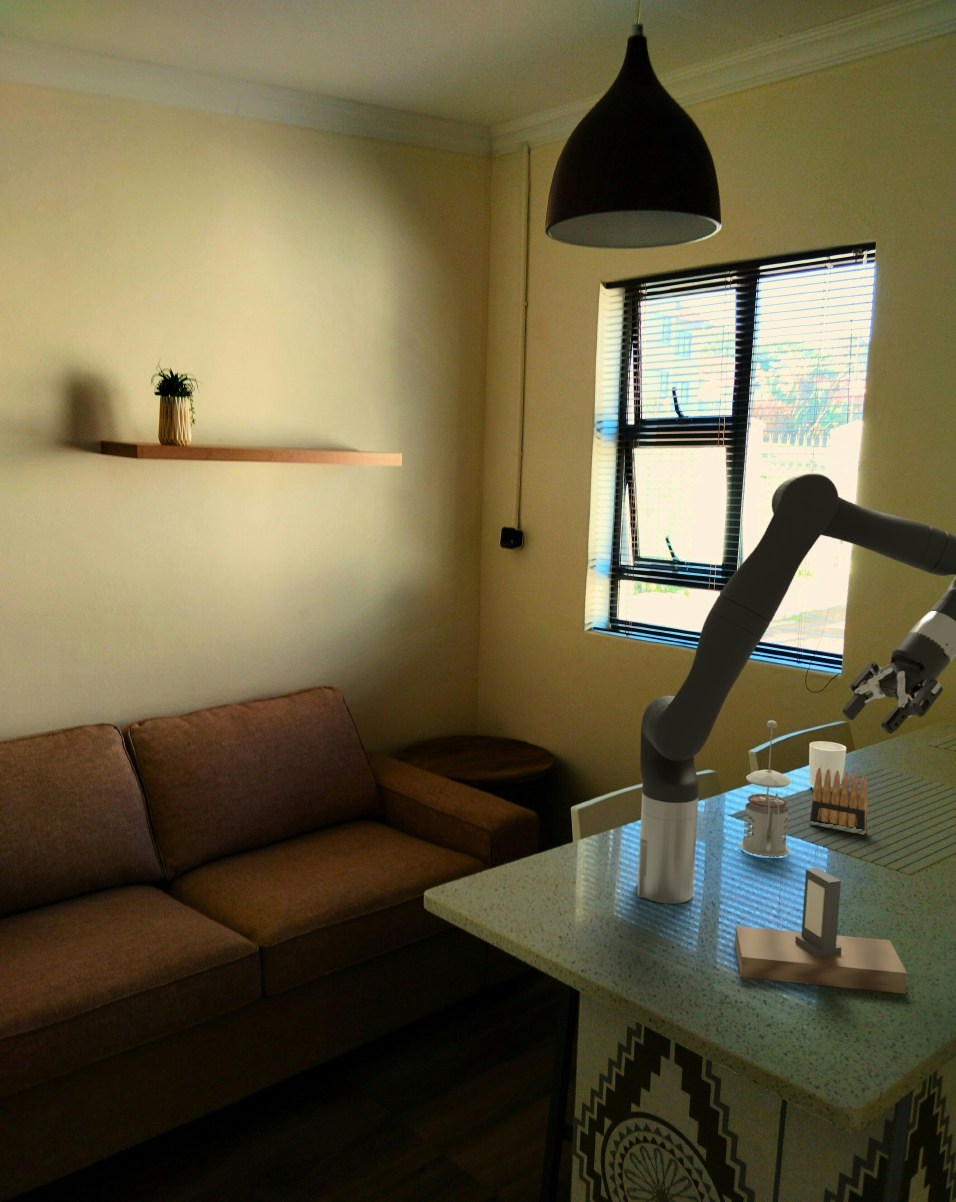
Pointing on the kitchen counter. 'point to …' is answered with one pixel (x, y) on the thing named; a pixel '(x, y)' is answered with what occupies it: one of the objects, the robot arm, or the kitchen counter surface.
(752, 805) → the french press
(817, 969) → the wooden block
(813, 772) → the white cup
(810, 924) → the picture frame
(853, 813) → the ammunition clip
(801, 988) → the kitchen counter surface
